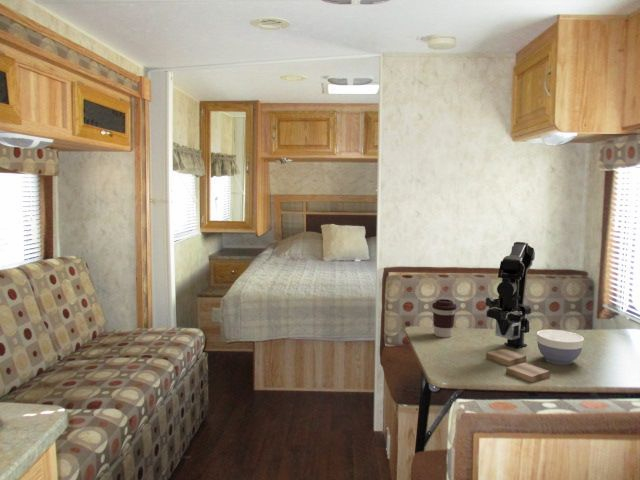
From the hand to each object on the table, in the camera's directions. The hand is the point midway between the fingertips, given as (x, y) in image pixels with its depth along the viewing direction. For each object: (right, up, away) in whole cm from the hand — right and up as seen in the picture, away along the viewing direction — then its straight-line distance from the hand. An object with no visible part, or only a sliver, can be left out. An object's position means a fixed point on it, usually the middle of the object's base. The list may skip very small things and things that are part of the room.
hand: (507, 334), depth 204 cm
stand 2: (+2, -12, -14) cm, 18 cm away
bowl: (+19, -10, +1) cm, 22 cm away
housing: (0, -1, 0) cm, 1 cm away
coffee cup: (-17, -6, +31) cm, 36 cm away
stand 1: (0, -10, +1) cm, 10 cm away
